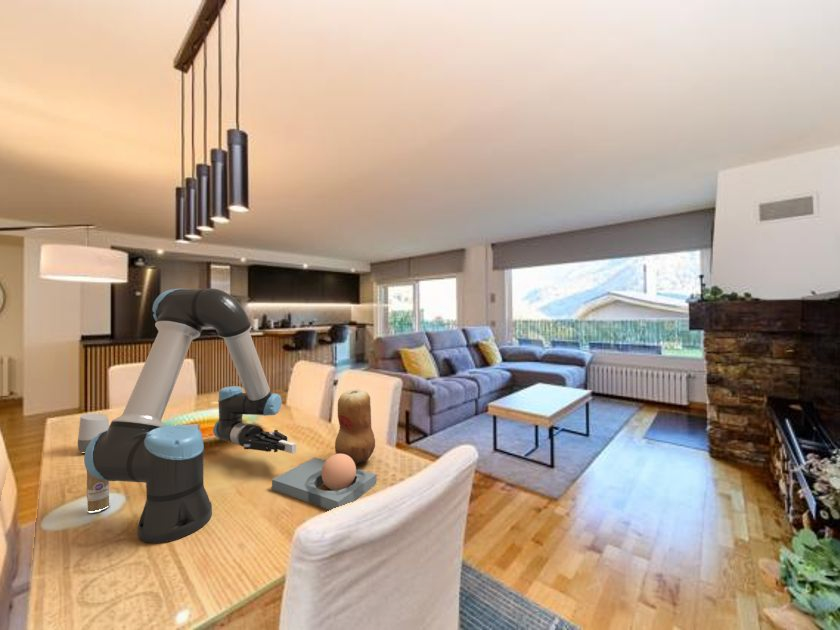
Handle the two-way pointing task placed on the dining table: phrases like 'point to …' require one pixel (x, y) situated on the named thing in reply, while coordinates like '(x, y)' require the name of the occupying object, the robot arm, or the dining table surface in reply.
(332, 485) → the ball
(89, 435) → the smart speaker
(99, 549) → the dining table surface
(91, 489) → the sprinkles bottle
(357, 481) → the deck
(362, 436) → the butternut squash
